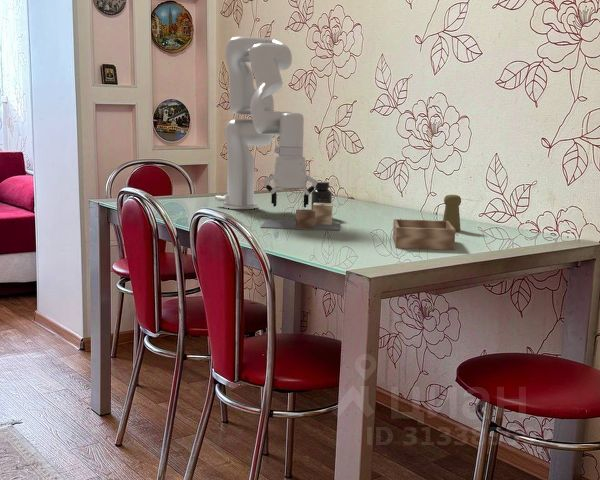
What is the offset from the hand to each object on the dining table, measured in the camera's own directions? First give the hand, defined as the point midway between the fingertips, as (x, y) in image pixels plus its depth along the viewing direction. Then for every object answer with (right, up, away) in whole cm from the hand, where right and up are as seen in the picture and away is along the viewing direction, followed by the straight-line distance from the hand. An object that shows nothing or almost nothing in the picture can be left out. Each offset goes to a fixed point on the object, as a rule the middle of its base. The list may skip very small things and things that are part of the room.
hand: (289, 206), depth 247 cm
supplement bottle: (+10, -3, +13) cm, 17 cm away
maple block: (+10, +1, -1) cm, 10 cm away
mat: (+4, -6, -3) cm, 8 cm away
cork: (+50, -8, -6) cm, 51 cm away
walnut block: (+5, -7, -8) cm, 12 cm away
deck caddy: (+37, -12, -31) cm, 50 cm away
